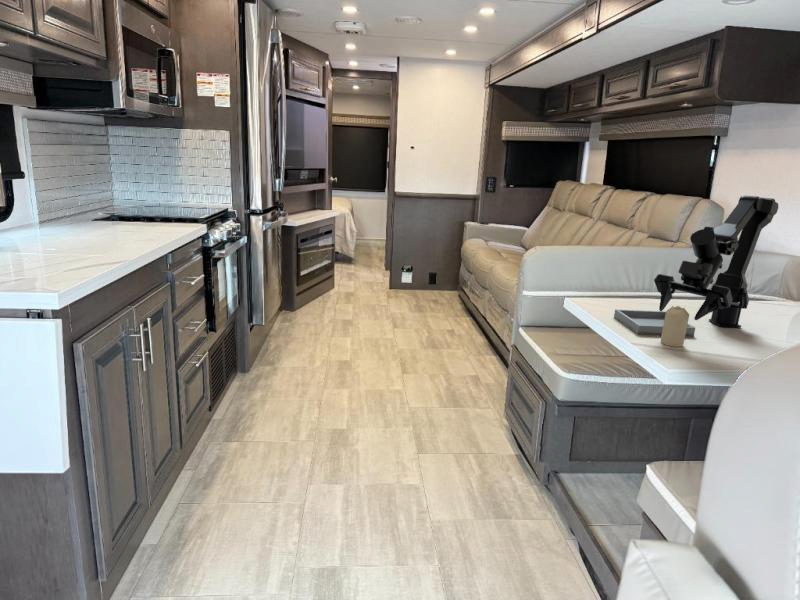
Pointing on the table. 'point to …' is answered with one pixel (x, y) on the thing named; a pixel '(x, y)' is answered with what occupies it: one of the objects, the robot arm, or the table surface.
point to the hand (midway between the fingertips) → (677, 314)
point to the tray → (646, 321)
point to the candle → (675, 326)
